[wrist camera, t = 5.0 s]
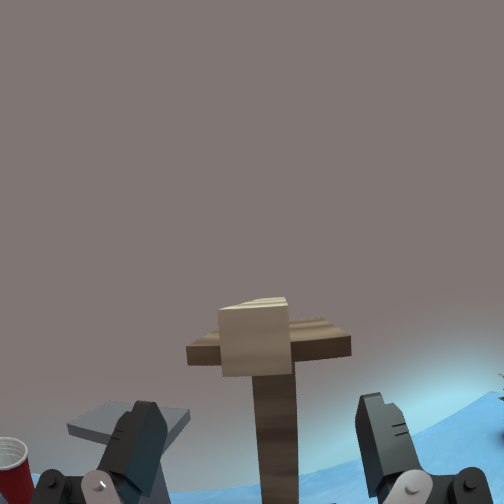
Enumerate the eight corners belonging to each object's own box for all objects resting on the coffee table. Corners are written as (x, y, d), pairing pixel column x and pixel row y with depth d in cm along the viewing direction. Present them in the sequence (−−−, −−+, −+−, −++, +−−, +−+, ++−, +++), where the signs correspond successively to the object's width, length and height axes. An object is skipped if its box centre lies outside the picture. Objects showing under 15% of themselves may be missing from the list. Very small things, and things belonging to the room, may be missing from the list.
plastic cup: (-12, 501, 17) (-38, 444, 19) (25, 484, 28) (5, 431, 29) (24, 531, 15) (-9, 472, 17) (62, 506, 26) (39, 451, 28)
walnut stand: (232, 513, 32) (210, 325, 37) (335, 508, 31) (337, 316, 35) (212, 581, 17) (161, 345, 21) (349, 577, 15) (376, 332, 20)
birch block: (261, 323, 36) (259, 298, 36) (286, 321, 36) (284, 296, 36) (222, 376, 12) (217, 309, 13) (292, 373, 12) (287, 305, 12)
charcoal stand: (141, 507, 32) (112, 398, 35) (211, 519, 31) (191, 406, 34) (110, 547, 20) (61, 425, 23) (192, 568, 19) (155, 447, 22)
